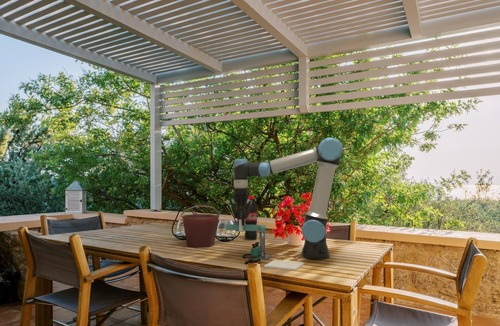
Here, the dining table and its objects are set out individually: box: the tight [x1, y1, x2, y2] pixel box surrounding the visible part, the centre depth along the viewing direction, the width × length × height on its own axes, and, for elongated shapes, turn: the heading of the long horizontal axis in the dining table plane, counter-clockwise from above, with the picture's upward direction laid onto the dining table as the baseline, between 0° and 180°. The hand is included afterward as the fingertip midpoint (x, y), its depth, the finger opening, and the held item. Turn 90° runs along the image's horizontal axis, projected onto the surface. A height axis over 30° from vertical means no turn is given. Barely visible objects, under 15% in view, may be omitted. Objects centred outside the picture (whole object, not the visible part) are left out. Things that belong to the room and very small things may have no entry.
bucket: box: [180, 205, 221, 249], centre depth 249 cm, size 24×22×25 cm
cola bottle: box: [244, 195, 258, 241], centre depth 273 cm, size 8×8×30 cm
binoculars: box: [241, 241, 262, 264], centre depth 201 cm, size 9×11×10 cm
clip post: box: [259, 231, 273, 261], centre depth 214 cm, size 8×8×14 cm
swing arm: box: [225, 223, 267, 232], centre depth 216 cm, size 22×4×3 cm, turn 81°
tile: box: [263, 259, 305, 272], centre depth 196 cm, size 16×14×1 cm
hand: (241, 231), depth 213 cm, fingers closed
